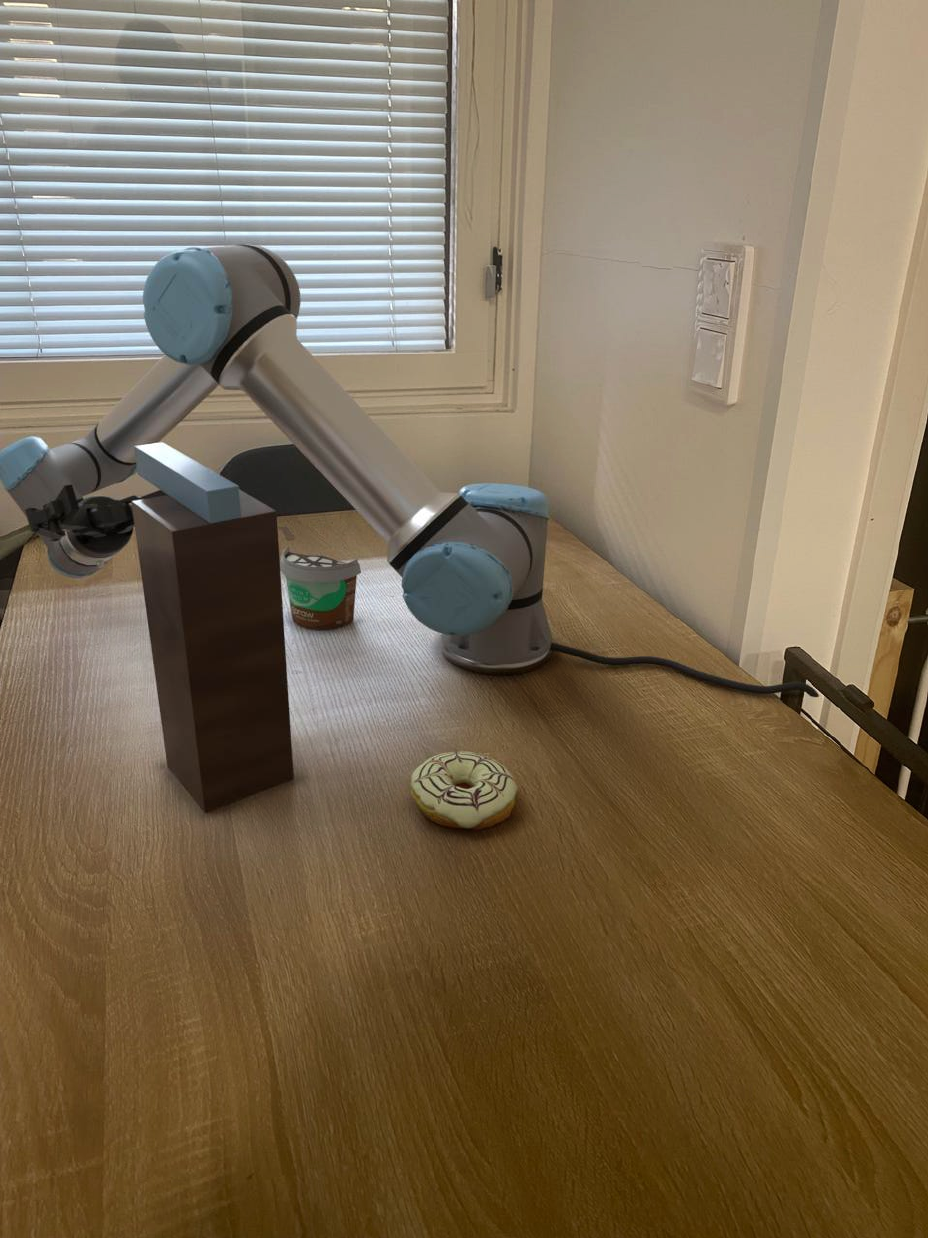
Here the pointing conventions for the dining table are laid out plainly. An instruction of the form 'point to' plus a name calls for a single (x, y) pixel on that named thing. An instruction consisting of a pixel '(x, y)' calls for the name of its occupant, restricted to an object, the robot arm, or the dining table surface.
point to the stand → (217, 646)
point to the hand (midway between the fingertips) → (136, 486)
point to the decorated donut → (463, 790)
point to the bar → (188, 482)
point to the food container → (320, 590)
